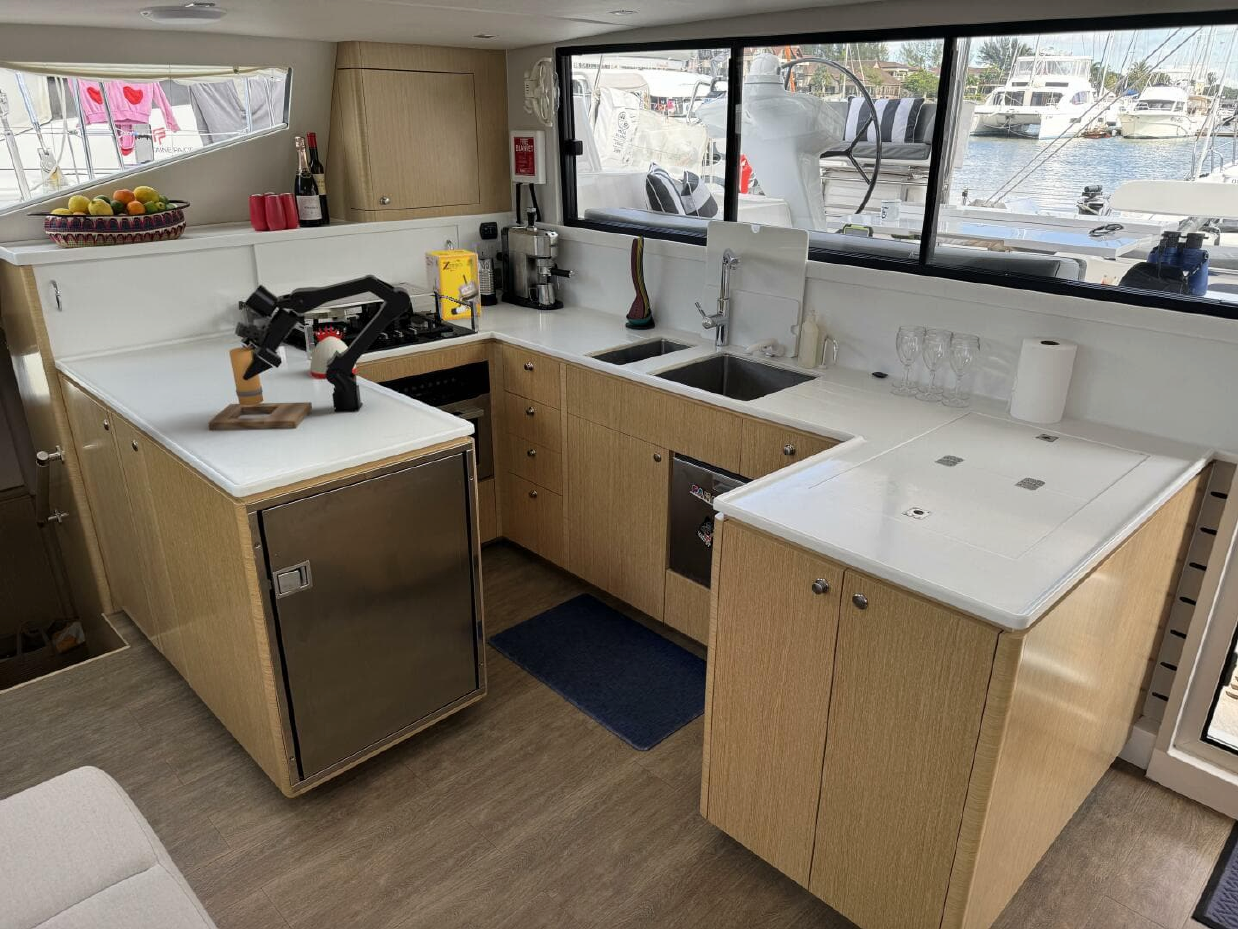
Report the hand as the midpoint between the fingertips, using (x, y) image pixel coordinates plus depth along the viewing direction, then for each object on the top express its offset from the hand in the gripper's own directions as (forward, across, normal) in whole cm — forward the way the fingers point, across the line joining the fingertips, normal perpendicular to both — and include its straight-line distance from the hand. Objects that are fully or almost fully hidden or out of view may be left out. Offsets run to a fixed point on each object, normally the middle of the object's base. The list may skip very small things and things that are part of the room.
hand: (241, 376), depth 228 cm
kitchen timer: (-15, -35, +33) cm, 50 cm away
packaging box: (-63, -94, +82) cm, 140 cm away
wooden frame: (+6, 0, +11) cm, 13 cm away
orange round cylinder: (+4, 0, +6) cm, 7 cm away
